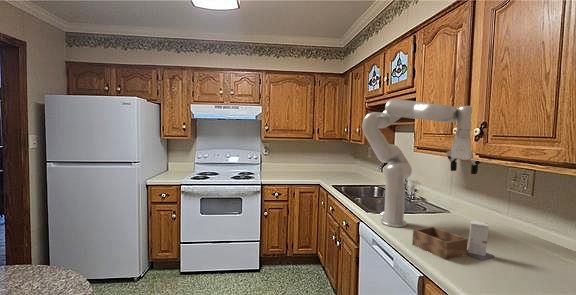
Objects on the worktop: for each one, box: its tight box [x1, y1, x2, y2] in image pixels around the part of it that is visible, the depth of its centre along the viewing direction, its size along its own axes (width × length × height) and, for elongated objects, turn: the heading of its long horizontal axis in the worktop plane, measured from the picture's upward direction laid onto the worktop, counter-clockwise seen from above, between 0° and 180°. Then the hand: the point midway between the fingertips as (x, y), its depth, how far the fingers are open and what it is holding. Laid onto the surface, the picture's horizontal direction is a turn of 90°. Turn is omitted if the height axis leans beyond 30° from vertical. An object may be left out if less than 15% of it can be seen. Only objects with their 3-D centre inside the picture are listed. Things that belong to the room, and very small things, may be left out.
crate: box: [412, 226, 469, 261], centre depth 127 cm, size 16×12×6 cm
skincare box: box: [467, 220, 490, 256], centre depth 123 cm, size 6×4×12 cm
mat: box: [466, 249, 495, 261], centre depth 124 cm, size 8×8×1 cm
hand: (463, 172), depth 139 cm, fingers open, 9 cm apart
